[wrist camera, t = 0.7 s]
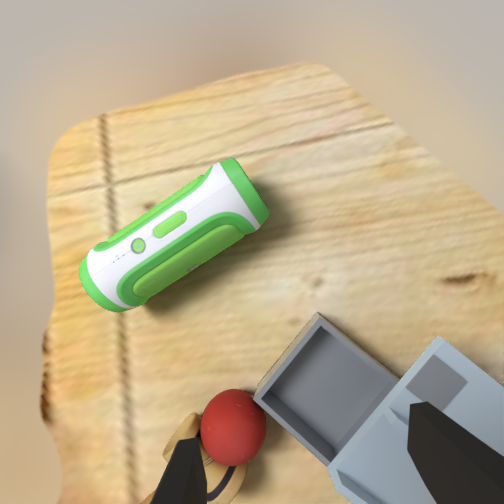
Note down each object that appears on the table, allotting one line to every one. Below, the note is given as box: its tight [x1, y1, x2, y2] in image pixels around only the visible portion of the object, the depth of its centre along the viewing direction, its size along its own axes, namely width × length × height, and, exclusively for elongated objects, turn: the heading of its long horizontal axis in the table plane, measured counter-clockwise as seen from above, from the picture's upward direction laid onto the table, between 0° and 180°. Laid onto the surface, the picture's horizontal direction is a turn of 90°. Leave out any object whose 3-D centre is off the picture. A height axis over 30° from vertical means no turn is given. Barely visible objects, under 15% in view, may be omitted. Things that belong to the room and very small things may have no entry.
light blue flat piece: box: [327, 336, 504, 504], centre depth 20 cm, size 12×13×2 cm
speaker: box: [79, 158, 270, 312], centre depth 27 cm, size 18×7×8 cm, turn 122°
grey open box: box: [253, 312, 400, 467], centre depth 26 cm, size 10×10×4 cm
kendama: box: [140, 389, 266, 504], centre depth 27 cm, size 8×6×18 cm
